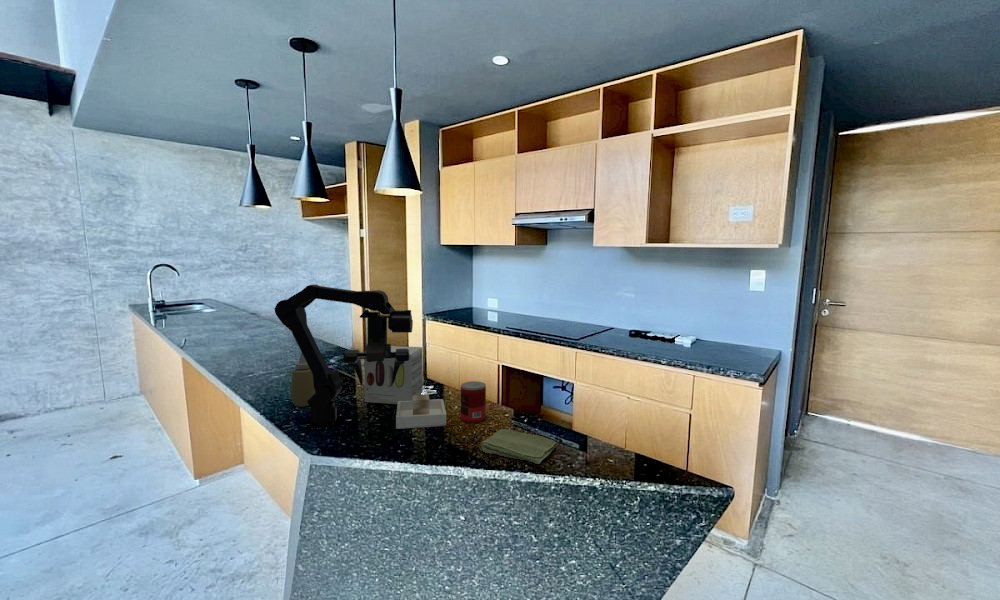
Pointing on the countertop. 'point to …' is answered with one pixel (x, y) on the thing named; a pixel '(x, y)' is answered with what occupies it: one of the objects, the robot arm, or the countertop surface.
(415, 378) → the supplement box
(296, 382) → the squeeze bottle
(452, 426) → the countertop surface
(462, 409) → the canned food
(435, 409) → the grey bin
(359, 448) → the countertop surface
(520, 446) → the washcloth
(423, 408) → the ash block
